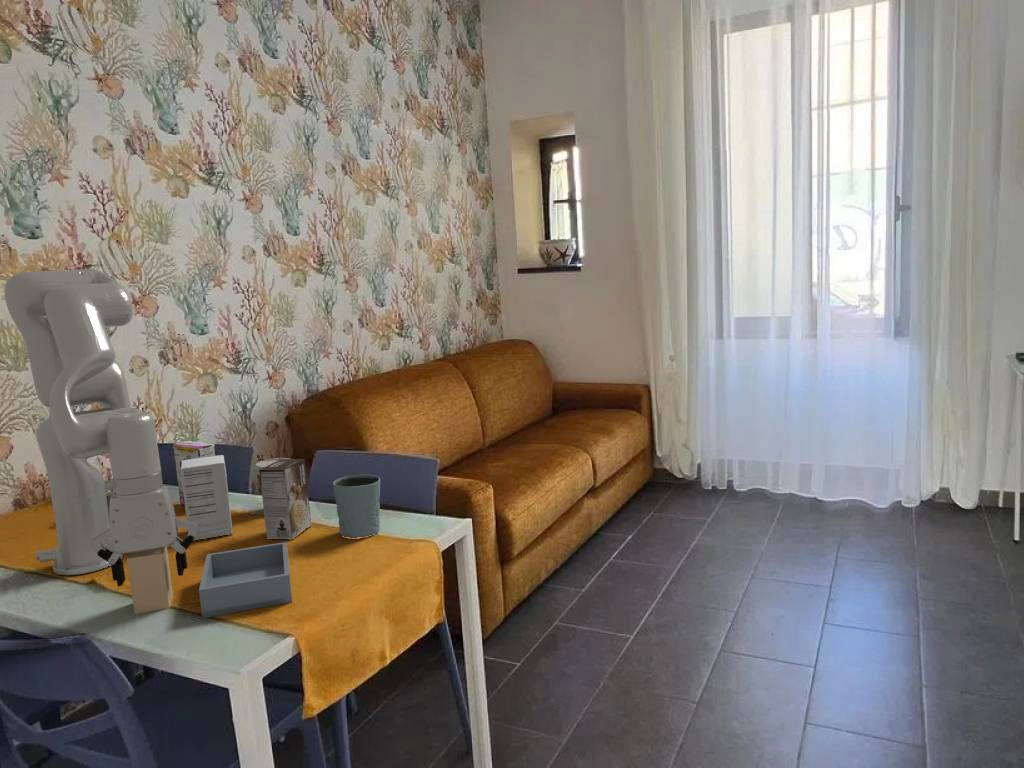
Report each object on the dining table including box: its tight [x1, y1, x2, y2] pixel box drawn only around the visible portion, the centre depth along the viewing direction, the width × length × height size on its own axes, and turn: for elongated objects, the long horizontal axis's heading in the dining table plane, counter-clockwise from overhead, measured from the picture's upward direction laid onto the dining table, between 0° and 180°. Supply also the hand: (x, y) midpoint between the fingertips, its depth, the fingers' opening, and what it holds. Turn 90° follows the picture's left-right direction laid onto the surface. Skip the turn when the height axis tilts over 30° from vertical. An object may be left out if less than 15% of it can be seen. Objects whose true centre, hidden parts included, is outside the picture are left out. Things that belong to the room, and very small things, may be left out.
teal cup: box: [332, 474, 381, 538], centre depth 161 cm, size 10×10×12 cm
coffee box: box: [259, 458, 312, 539], centre depth 163 cm, size 9×6×16 cm
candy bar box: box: [172, 440, 217, 507], centre depth 187 cm, size 11×5×16 cm, turn 58°
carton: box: [126, 547, 174, 615], centre depth 130 cm, size 6×6×10 cm
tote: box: [198, 541, 293, 619], centre depth 134 cm, size 15×18×5 cm
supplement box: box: [180, 454, 233, 540], centre depth 166 cm, size 10×9×17 cm
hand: (151, 578), depth 129 cm, fingers open, 9 cm apart
